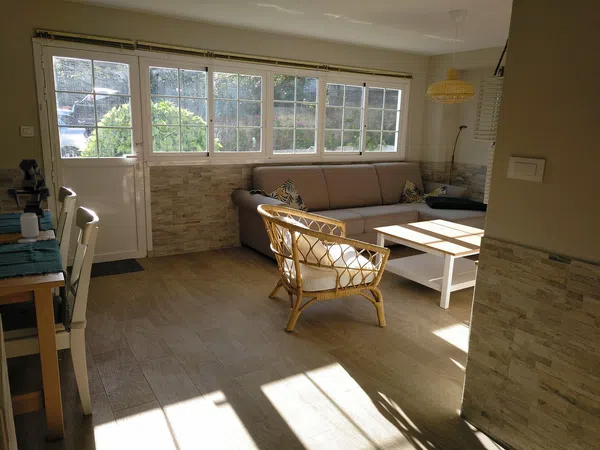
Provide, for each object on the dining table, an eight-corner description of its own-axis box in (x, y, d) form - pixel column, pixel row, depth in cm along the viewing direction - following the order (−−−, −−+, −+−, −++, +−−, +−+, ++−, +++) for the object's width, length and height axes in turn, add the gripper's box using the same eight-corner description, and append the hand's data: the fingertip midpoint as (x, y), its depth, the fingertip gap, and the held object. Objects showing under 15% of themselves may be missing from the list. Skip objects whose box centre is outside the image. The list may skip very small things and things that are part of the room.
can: (31, 239, 229) (29, 215, 226) (18, 237, 230) (16, 214, 227) (42, 235, 236) (40, 212, 233) (29, 234, 237) (27, 211, 235)
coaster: (19, 240, 226) (19, 238, 226) (37, 238, 229) (37, 237, 229) (16, 244, 219) (16, 242, 219) (35, 243, 222) (35, 241, 222)
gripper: (4, 172, 227) (3, 201, 222) (47, 172, 234) (47, 199, 229) (9, 183, 237) (8, 210, 231) (50, 182, 244) (50, 209, 238)
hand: (28, 207), depth 232 cm, fingers open, 9 cm apart
